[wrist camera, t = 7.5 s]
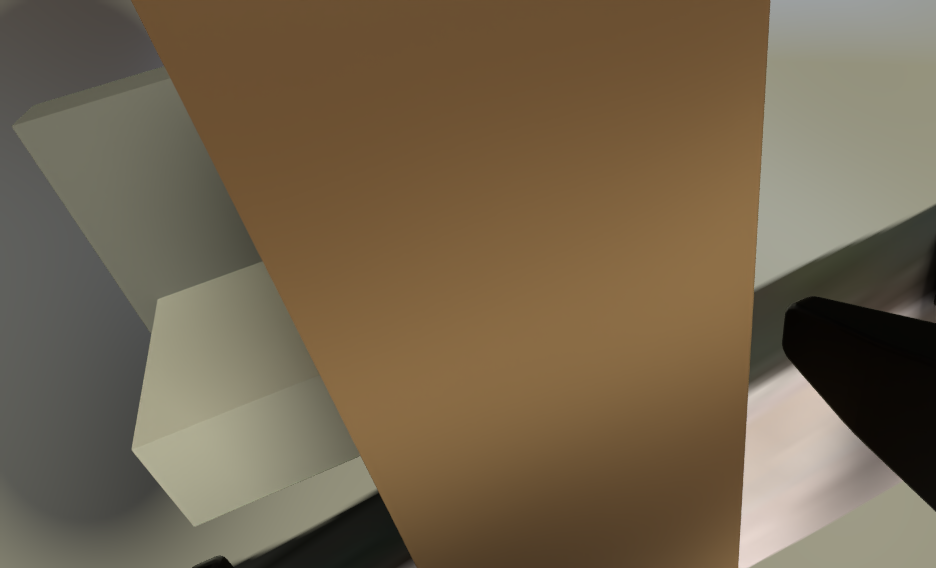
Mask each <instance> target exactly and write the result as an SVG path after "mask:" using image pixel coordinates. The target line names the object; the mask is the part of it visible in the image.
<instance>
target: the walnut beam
mask: <svg viewBox="0 0 936 568" xmlns="http://www.w3.org/2000/svg"><path fill="white" fill-rule="evenodd" d="M131 1H132V3H133V5H134V7H135V9H136V11H137V13H138V15H139V17H140V19H141V21H142V23H143V25H144V27H145V29H146V30H147V33H148V35H149V37H150V39H151V41H152V42H153V44H154V47H155V49H156V50H157V52H158V55H159V57H160V59H161V60H162V62H163V64H164V66H165V68H166V70H167V72H168V74H169V76H170V78H171V80H172V82H173V84H174V86H175V88H176V90H177V92H178V94H179V96H180V98H181V100H182V102H183V104H184V106H185V108H186V110H187V112H188V114H189V116H190V118H191V120H192V122H193V124H194V126H195V128H196V130H197V132H198V134H199V136H200V138H201V140H202V142H203V144H204V146H205V148H206V150H207V152H208V154H209V156H210V158H211V160H212V162H213V164H214V166H215V168H216V170H217V172H218V174H219V176H220V178H221V180H222V182H223V184H224V186H225V188H226V190H227V192H228V194H229V196H230V198H231V199H232V201H233V203H234V205H235V207H236V209H237V211H238V213H239V215H240V217H241V219H242V221H243V223H244V225H245V227H246V229H247V231H248V233H249V235H250V237H251V239H252V241H253V243H254V245H255V247H256V249H257V251H258V253H259V255H260V257H261V259H262V261H263V263H264V265H265V267H266V269H267V271H268V273H269V275H270V277H271V279H272V281H273V283H274V285H275V287H276V289H277V291H278V293H279V295H280V297H281V299H282V301H283V303H284V305H285V307H286V309H287V311H288V313H289V315H290V317H291V319H292V321H293V323H294V325H295V327H296V329H297V331H298V332H299V334H300V336H301V338H302V340H303V342H304V344H305V346H306V348H307V350H308V352H309V354H310V356H311V358H312V360H313V362H314V364H315V366H316V368H317V370H318V372H319V374H320V376H321V378H322V380H323V382H324V384H325V386H326V388H327V390H328V392H329V394H330V396H331V398H332V400H333V402H334V404H335V406H336V408H337V410H338V412H339V414H340V416H341V418H342V420H343V422H344V424H345V426H346V428H347V430H348V432H349V434H350V436H351V438H352V440H353V442H354V444H355V446H356V448H357V450H358V452H359V454H360V456H361V457H362V460H363V461H364V463H365V465H366V467H367V469H368V471H369V473H370V475H371V477H372V479H373V481H374V483H375V485H376V487H377V489H378V491H379V493H380V495H381V497H382V499H383V501H384V503H385V505H386V507H387V509H388V511H389V513H390V515H391V517H392V519H393V521H394V523H395V525H396V527H397V529H398V531H399V533H400V535H401V537H402V539H403V541H404V543H405V545H406V547H407V549H408V551H409V553H410V555H411V557H412V559H413V561H414V563H415V565H416V567H417V568H738V560H739V543H740V525H741V507H742V490H743V472H744V455H745V437H746V420H747V402H748V384H749V367H750V349H751V332H752V314H753V296H754V278H755V259H756V244H757V225H758V207H759V190H760V173H761V156H762V138H763V120H764V103H765V85H766V67H767V50H768V33H769V13H770V0H131Z"/></svg>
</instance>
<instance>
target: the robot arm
mask: <svg viewBox="0 0 936 568" xmlns="http://www.w3.org/2000/svg"><path fill="white" fill-rule="evenodd" d="M934 305H935V306H936V295H935V299H934ZM782 346H783V350H784V352H785V354H786V356H787V357H788V359H789V360H790V361H791V362H792V364H793V365H794V366H795V367H796V368H797V369H798V371H799V372H800V373H801V374H802V375H803V376H804V377H805V379H806V380H807V381H808V382H809V383H810V384H811V385H812V387H813V388H814V389H815V390H816V391H817V392H818V394H819V395H820V396H821V397H822V398H823V399H824V400H825V402H826V403H827V404H828V405H829V406H830V407H831V408H832V410H833V411H834V412H835V413H836V414H837V415H838V417H839V418H840V419H841V420H842V421H843V422H844V423H845V424H846V425H847V427H848V428H849V429H850V430H851V431H852V432H853V433H854V434H855V435H856V436H857V437H858V438H859V439H860V440H861V441H862V442H863V443H864V444H865V445H866V446H867V447H868V448H869V449H870V450H871V451H872V452H873V453H875V454H876V455H877V456H878V457H879V458H880V459H881V460H882V461H883V462H884V463H885V464H886V465H887V466H888V467H889V468H890V469H891V470H892V471H893V472H895V473H896V474H897V475H898V476H899V477H900V478H901V479H902V480H903V481H904V482H905V483H906V484H907V485H908V486H909V487H910V488H911V489H912V490H913V491H915V492H916V493H917V494H918V495H919V496H920V497H921V498H922V499H923V500H924V501H925V502H926V503H927V504H928V505H929V506H930V507H931V508H933V510H935V511H936V323H932V322H928V321H923V320H919V319H915V318H910V317H906V316H901V315H897V314H893V313H888V312H884V311H879V310H875V309H870V308H866V307H862V306H857V305H853V304H848V303H844V302H839V301H835V300H831V299H826V298H822V297H817V296H810V297H806V298H804V299H801V300H799V301H797V302H795V303H792V304H790V305H789V306H788V307H787V309H786V311H785V319H784V328H783V338H782ZM192 568H234V567H233V566H232V565H231V563H230V562H229V561H228V560H227V559H226V558H225V557H223V556H216V557H213V558H211V559H209V560H206V561H204V562H202V563H200V564H197V565H195V566H194V567H192Z"/></svg>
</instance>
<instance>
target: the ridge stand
mask: <svg viewBox="0 0 936 568" xmlns="http://www.w3.org/2000/svg"><path fill="white" fill-rule="evenodd" d="M12 128H13V129H14V131H15V132H16V134H17V135H18V137H19V138H20V140H21V141H22V143H23V144H24V146H25V147H26V149H27V150H28V152H29V153H30V154H31V156H32V158H33V159H34V161H35V162H36V163H37V165H38V166H39V168H40V169H41V171H42V172H43V174H44V175H45V177H46V178H47V180H48V181H49V183H50V184H51V186H52V187H53V189H54V190H55V192H56V193H57V195H58V196H59V198H60V199H61V201H62V202H63V203H64V205H65V207H66V208H67V209H68V211H69V213H70V214H71V215H72V217H73V219H74V220H75V222H76V223H77V224H78V226H79V228H80V229H81V230H82V232H83V233H84V235H85V236H86V238H87V239H88V241H89V242H90V244H91V245H92V247H93V248H94V250H95V251H96V253H97V254H98V256H99V257H100V259H101V260H102V262H103V263H104V265H105V266H106V268H107V269H108V270H109V272H110V274H111V275H112V277H113V278H114V280H115V281H116V283H117V284H118V286H119V287H120V289H121V290H122V291H123V293H124V294H125V296H126V297H127V299H128V300H129V302H130V303H131V305H132V306H133V308H134V309H135V311H136V312H137V314H138V315H139V317H140V318H141V320H142V321H143V323H144V324H145V326H146V327H147V329H148V330H149V332H150V333H151V341H150V346H149V352H148V359H147V364H146V369H145V375H144V382H143V387H142V393H141V398H140V404H139V410H138V416H137V422H136V427H135V433H134V439H133V445H132V451H133V452H134V453H135V455H136V456H137V457H138V458H139V459H140V461H141V462H142V463H143V465H144V466H145V467H146V468H147V469H148V471H149V472H150V473H151V474H152V476H153V477H154V478H155V479H156V481H157V482H158V483H159V484H160V485H161V487H162V488H163V489H164V490H165V492H166V493H167V494H168V495H169V496H170V498H171V499H172V500H173V501H174V503H175V504H176V505H177V506H178V507H179V509H180V510H181V511H182V513H183V514H184V515H185V516H186V517H187V519H188V520H189V521H190V522H191V524H192V525H193V526H194V527H195V526H198V525H200V524H202V523H204V522H207V521H209V520H212V519H214V518H216V517H219V516H221V515H223V514H226V513H228V512H230V511H233V510H235V509H237V508H240V507H242V506H244V505H247V504H249V503H251V502H254V501H256V500H258V499H261V498H263V497H265V496H267V495H270V494H272V493H275V492H277V491H279V490H282V489H284V488H286V487H289V486H291V485H294V484H296V483H298V482H301V481H303V480H305V479H307V478H310V477H312V476H315V475H317V474H319V473H322V472H324V471H326V470H328V469H331V468H333V467H335V466H338V465H340V464H342V463H345V462H347V461H349V460H352V459H354V458H357V457H359V456H360V454H359V452H358V450H357V448H356V446H355V444H354V442H353V440H352V438H351V436H350V434H349V432H348V430H347V428H346V426H345V424H344V422H343V420H342V418H341V416H340V414H339V412H338V410H337V408H336V406H335V404H334V402H333V400H332V398H331V396H330V394H329V392H328V390H327V388H326V386H325V384H324V382H323V380H322V378H321V376H320V374H319V372H318V370H317V368H316V366H315V364H314V362H313V360H312V358H311V356H310V354H309V352H308V350H307V348H306V346H305V344H304V342H303V340H302V338H301V336H300V334H299V332H298V331H297V329H296V327H295V325H294V323H293V321H292V319H291V317H290V315H289V313H288V311H287V309H286V307H285V305H284V303H283V301H282V299H281V297H280V295H279V293H278V291H277V289H276V287H275V285H274V283H273V281H272V279H271V277H270V275H269V273H268V271H267V269H266V267H265V265H264V263H263V261H262V259H261V257H260V255H259V253H258V251H257V249H256V247H255V245H254V243H253V241H252V239H251V237H250V235H249V233H248V231H247V229H246V227H245V225H244V223H243V221H242V219H241V217H240V215H239V213H238V211H237V209H236V207H235V205H234V203H233V201H232V199H231V198H230V196H229V194H228V192H227V190H226V188H225V186H224V184H223V182H222V180H221V178H220V176H219V174H218V172H217V170H216V168H215V166H214V164H213V162H212V160H211V158H210V156H209V154H208V152H207V150H206V148H205V146H204V144H203V142H202V140H201V138H200V136H199V134H198V132H197V130H196V128H195V126H194V124H193V122H192V120H191V118H190V116H189V114H188V112H187V110H186V108H185V106H184V104H183V102H182V100H181V98H180V96H179V94H178V92H177V90H176V88H175V86H174V84H173V82H172V80H171V78H170V76H169V74H168V72H167V70H166V68H165V66H164V67H161V68H157V69H154V70H151V71H147V72H144V73H140V74H137V75H134V76H130V77H127V78H124V79H121V80H117V81H114V82H110V83H107V84H104V85H100V86H97V87H94V88H90V89H87V90H84V91H80V92H77V93H73V94H70V95H67V96H64V97H60V98H57V99H54V100H50V101H47V102H43V103H41V104H37V105H34V106H32V107H31V108H30V109H29V110H28V111H27V112H26V113H25V114H24V115H23V116H22V117H21V118H20V119H19V120H17V121H16V122H15V124H13V125H12Z"/></svg>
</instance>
